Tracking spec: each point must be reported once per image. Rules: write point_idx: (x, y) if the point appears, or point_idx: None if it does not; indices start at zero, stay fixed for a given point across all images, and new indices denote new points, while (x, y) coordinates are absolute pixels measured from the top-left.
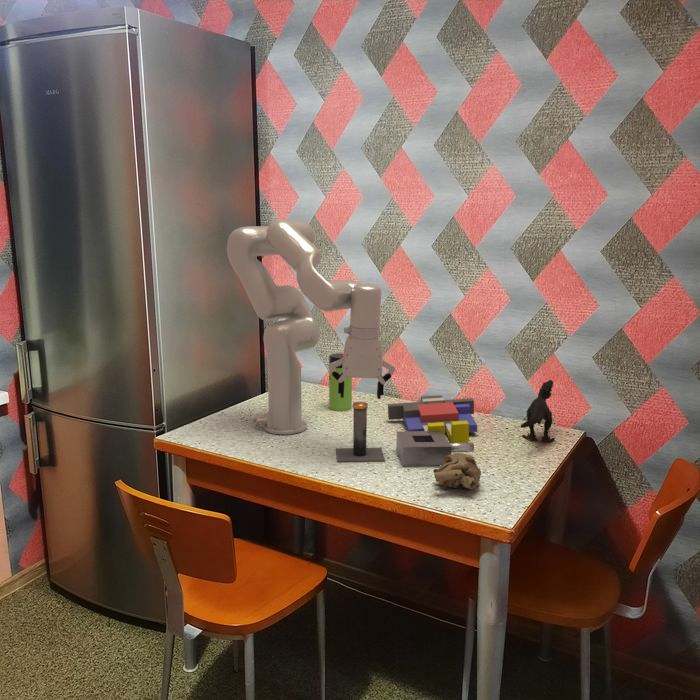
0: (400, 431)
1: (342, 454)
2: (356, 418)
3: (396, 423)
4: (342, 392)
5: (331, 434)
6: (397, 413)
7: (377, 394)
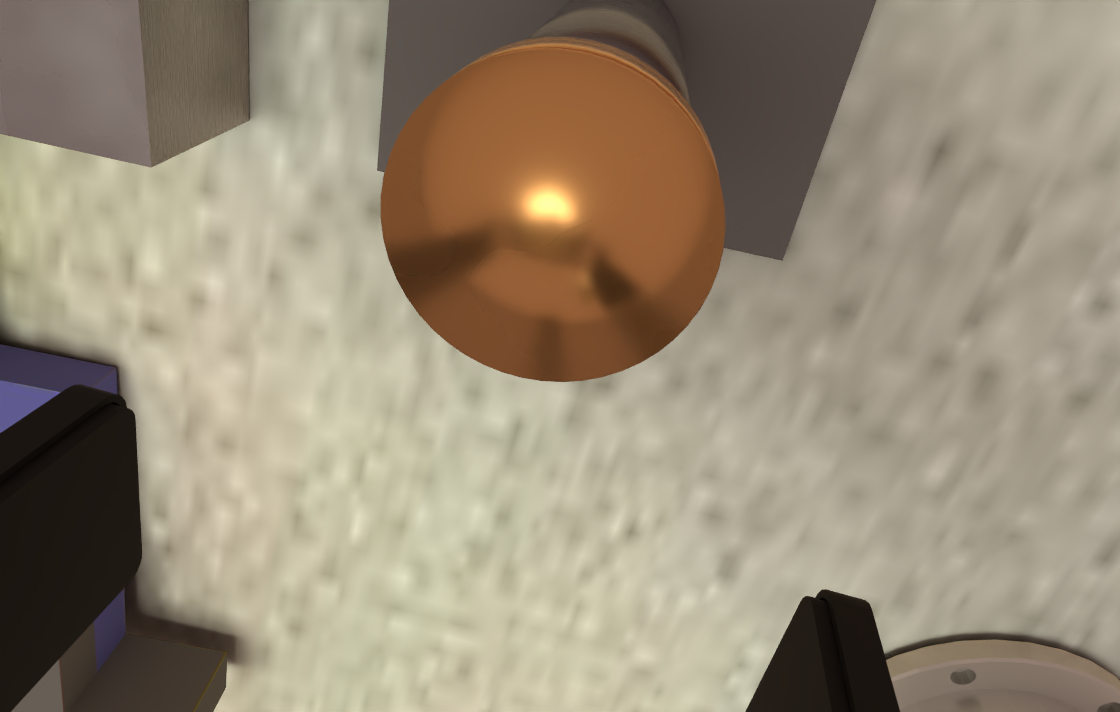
0: (110, 157)
1: (785, 85)
2: (669, 72)
3: (188, 614)
4: (862, 676)
5: (691, 564)
6: (142, 676)
7: (103, 522)
